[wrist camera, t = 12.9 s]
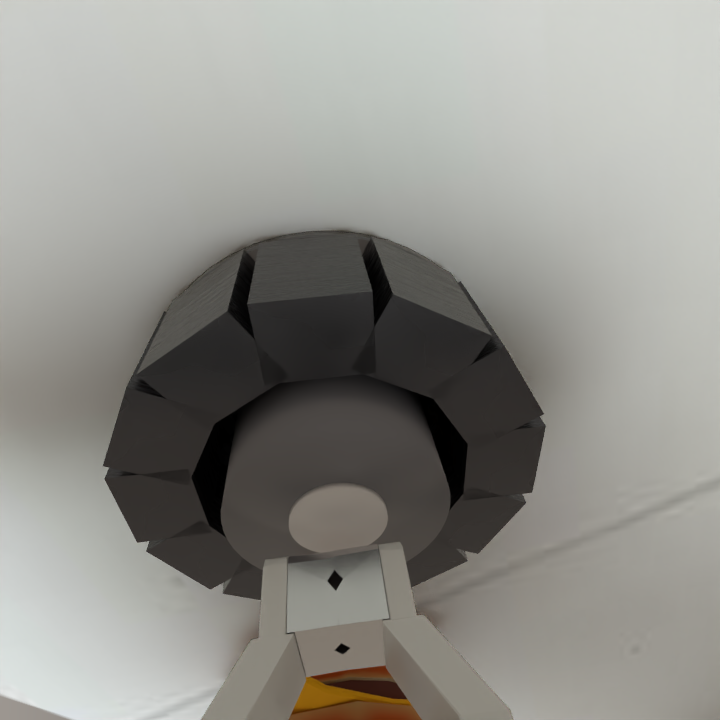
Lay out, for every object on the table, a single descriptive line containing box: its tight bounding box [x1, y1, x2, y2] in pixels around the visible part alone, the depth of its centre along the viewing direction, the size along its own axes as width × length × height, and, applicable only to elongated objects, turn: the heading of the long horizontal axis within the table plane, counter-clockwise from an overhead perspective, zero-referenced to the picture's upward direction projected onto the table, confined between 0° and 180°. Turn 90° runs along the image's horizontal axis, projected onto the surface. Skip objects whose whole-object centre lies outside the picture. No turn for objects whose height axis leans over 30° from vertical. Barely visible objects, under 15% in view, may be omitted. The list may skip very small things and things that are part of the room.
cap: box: [221, 374, 450, 570], centre depth 14 cm, size 6×6×5 cm
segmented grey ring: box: [103, 231, 546, 600], centre depth 14 cm, size 11×11×4 cm
